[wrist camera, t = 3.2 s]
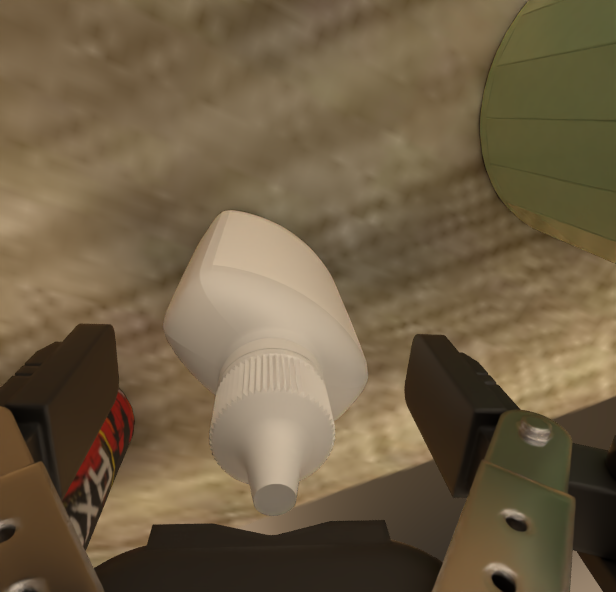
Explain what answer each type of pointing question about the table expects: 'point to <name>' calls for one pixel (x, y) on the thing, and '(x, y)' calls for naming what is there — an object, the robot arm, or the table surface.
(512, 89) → the pen cup
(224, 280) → the eye dropper bottle
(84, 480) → the deodorant
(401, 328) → the table surface
